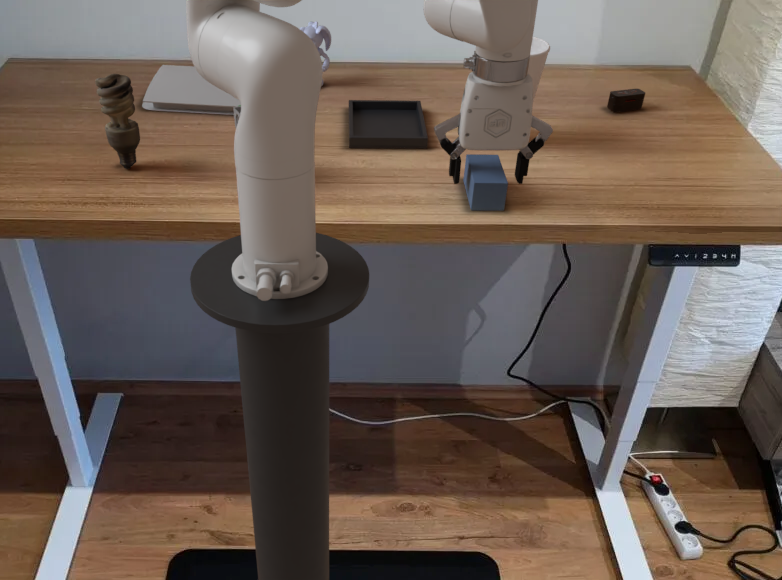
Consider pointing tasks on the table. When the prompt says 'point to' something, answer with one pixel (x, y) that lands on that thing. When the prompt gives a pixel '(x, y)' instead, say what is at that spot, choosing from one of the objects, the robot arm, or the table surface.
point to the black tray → (386, 124)
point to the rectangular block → (485, 182)
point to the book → (186, 93)
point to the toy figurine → (319, 40)
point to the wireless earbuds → (626, 100)
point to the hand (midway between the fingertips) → (486, 180)
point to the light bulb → (119, 116)
